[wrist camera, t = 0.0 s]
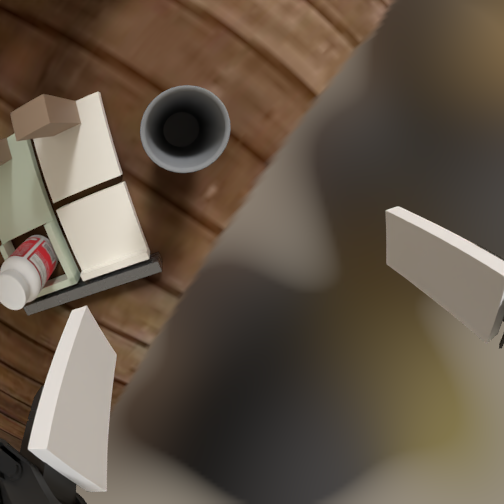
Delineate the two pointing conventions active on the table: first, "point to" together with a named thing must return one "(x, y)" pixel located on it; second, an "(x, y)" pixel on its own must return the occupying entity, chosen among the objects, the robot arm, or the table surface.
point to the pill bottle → (26, 271)
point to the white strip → (104, 231)
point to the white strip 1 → (69, 142)
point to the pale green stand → (29, 208)
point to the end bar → (96, 284)
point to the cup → (185, 129)
